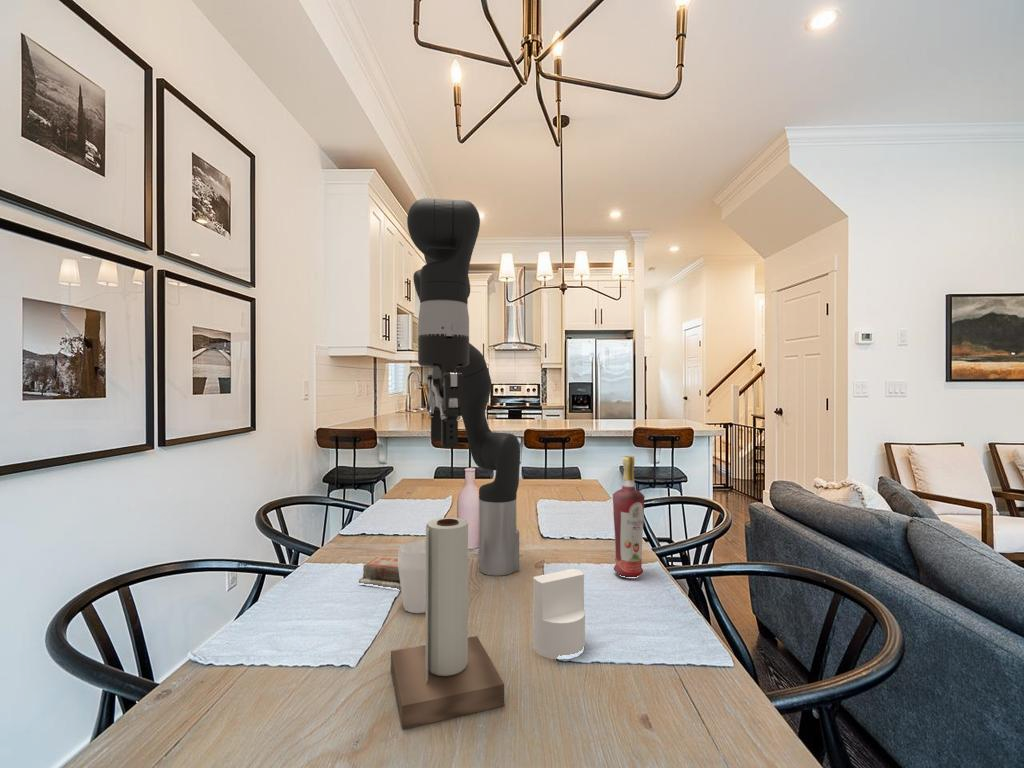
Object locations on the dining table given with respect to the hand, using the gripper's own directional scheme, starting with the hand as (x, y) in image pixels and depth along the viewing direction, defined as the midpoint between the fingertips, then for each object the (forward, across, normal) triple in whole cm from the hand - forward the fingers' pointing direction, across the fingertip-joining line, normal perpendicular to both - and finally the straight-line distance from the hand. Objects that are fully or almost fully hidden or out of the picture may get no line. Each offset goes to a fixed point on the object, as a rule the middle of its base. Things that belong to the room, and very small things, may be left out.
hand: (443, 443), depth 72 cm
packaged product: (+37, -42, 0) cm, 56 cm away
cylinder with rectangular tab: (+36, -5, +21) cm, 42 cm away
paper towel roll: (+33, 0, 0) cm, 33 cm away
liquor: (+36, -28, +50) cm, 68 cm away
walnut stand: (+36, 0, 0) cm, 36 cm away
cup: (+36, -28, +1) cm, 46 cm away
